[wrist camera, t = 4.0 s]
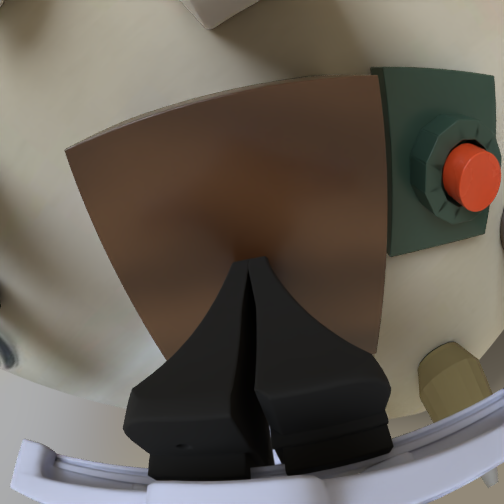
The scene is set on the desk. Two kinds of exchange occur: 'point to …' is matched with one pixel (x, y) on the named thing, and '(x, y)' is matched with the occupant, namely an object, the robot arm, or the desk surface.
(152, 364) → the desk surface
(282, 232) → the lid
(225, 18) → the medicine bottle
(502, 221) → the pillar candle
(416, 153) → the button block
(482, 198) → the button
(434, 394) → the squeeze bottle
